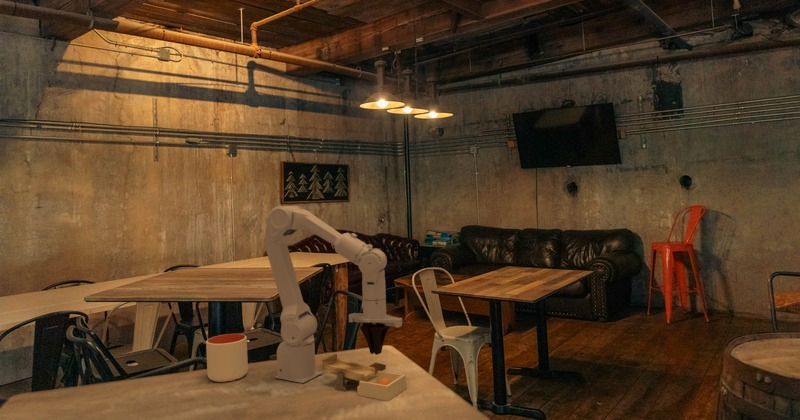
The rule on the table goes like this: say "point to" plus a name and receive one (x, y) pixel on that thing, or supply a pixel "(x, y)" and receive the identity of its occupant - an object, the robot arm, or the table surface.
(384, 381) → the ball
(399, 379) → the tray
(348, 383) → the pivot bracket
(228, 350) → the cup
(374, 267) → the robot arm
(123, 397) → the table surface
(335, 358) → the catapult lever
